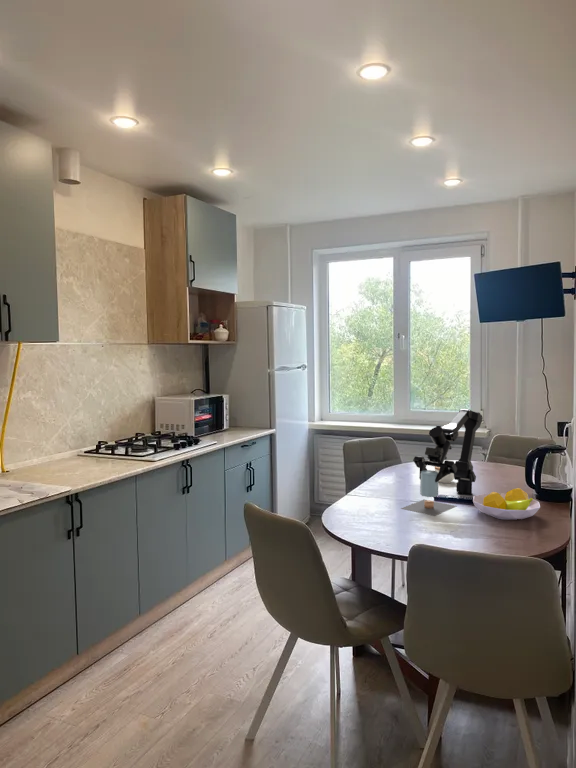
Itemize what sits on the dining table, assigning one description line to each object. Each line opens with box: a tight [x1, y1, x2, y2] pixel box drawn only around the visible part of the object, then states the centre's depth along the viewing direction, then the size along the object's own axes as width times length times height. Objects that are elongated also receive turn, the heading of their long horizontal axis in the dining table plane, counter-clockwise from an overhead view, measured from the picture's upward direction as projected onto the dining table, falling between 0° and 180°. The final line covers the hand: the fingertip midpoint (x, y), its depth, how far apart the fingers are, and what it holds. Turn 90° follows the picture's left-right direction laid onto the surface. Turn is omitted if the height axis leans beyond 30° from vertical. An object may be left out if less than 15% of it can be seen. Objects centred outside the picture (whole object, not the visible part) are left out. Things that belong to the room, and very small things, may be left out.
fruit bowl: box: [472, 487, 541, 520], centre depth 238 cm, size 28×27×11 cm
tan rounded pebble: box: [424, 499, 435, 509], centre depth 249 cm, size 4×4×2 cm
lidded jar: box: [434, 466, 455, 484], centre depth 298 cm, size 11×11×9 cm
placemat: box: [400, 499, 457, 517], centre depth 249 cm, size 20×16×1 cm
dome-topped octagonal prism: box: [419, 469, 439, 498], centre depth 249 cm, size 7×7×10 cm
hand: (427, 480), depth 248 cm, fingers closed on dome-topped octagonal prism, 7 cm apart
